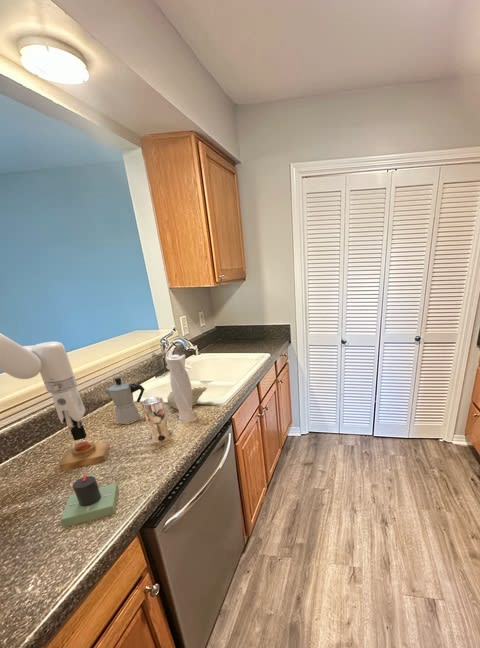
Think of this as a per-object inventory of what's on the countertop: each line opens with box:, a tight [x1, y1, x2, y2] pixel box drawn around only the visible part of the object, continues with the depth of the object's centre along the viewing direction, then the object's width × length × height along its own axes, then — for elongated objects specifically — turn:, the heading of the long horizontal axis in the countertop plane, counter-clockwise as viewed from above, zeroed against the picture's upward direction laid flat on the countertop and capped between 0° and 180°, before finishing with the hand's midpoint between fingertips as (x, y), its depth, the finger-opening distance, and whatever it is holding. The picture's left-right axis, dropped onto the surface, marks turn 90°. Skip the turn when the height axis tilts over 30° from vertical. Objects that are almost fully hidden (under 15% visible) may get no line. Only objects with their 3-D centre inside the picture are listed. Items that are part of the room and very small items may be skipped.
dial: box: [72, 475, 101, 506], centre depth 81 cm, size 5×5×6 cm
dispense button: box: [74, 440, 90, 451], centre depth 104 cm, size 4×4×2 cm
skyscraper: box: [165, 349, 197, 424], centre depth 124 cm, size 8×8×28 cm
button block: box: [58, 441, 110, 472], centre depth 105 cm, size 12×10×4 cm
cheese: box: [167, 386, 208, 410], centre depth 141 cm, size 15×7×15 cm
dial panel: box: [60, 483, 120, 529], centre depth 82 cm, size 11×10×3 cm
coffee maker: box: [102, 377, 146, 424], centre depth 128 cm, size 15×9×18 cm, turn 104°
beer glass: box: [141, 396, 172, 444], centre depth 112 cm, size 7×7×15 cm
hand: (80, 438), depth 103 cm, fingers closed
